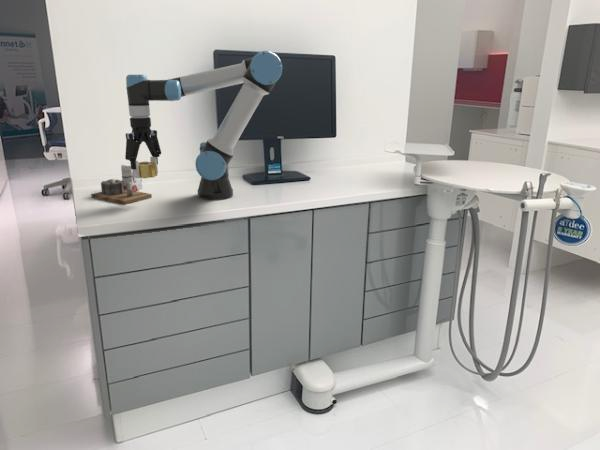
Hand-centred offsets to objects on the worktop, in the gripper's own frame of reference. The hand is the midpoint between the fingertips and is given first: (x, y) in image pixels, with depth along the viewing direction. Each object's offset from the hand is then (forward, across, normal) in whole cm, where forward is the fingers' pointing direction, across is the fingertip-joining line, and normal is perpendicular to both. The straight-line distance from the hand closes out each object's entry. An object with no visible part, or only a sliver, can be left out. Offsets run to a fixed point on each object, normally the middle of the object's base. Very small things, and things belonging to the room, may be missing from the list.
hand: (145, 175), depth 189 cm
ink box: (+12, -12, -23) cm, 28 cm away
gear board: (+11, -1, -16) cm, 20 cm away
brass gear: (0, 0, 0) cm, 0 cm away
